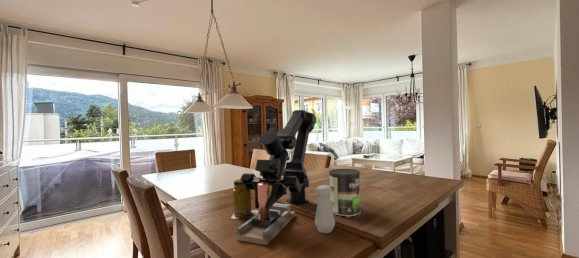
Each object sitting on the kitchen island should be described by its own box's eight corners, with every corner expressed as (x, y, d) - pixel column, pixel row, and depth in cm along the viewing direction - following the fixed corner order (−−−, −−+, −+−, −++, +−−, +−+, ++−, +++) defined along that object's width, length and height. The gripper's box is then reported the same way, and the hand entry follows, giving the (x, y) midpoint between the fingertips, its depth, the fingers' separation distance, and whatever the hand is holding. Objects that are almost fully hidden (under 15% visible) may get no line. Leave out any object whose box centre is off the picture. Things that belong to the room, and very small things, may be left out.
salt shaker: (313, 226, 76) (312, 184, 76) (332, 225, 77) (331, 183, 76) (317, 235, 70) (316, 189, 70) (337, 234, 71) (336, 188, 70)
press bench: (271, 212, 89) (270, 200, 88) (295, 215, 85) (294, 203, 85) (237, 239, 69) (236, 224, 69) (266, 245, 66) (265, 228, 66)
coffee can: (365, 210, 88) (365, 170, 87) (351, 220, 80) (350, 176, 80) (340, 204, 95) (339, 167, 94) (324, 212, 87) (323, 172, 87)
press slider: (262, 217, 80) (261, 179, 79) (280, 220, 78) (278, 180, 77) (252, 225, 74) (251, 184, 74) (271, 228, 72) (269, 185, 71)
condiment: (235, 211, 92) (234, 178, 91) (258, 210, 92) (257, 177, 91) (230, 219, 84) (229, 183, 84) (255, 218, 84) (254, 182, 84)
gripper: (242, 148, 81) (221, 192, 71) (296, 149, 74) (282, 198, 64) (255, 168, 89) (238, 210, 79) (306, 170, 81) (294, 217, 72)
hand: (261, 208), depth 73 cm, fingers closed on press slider, 3 cm apart
